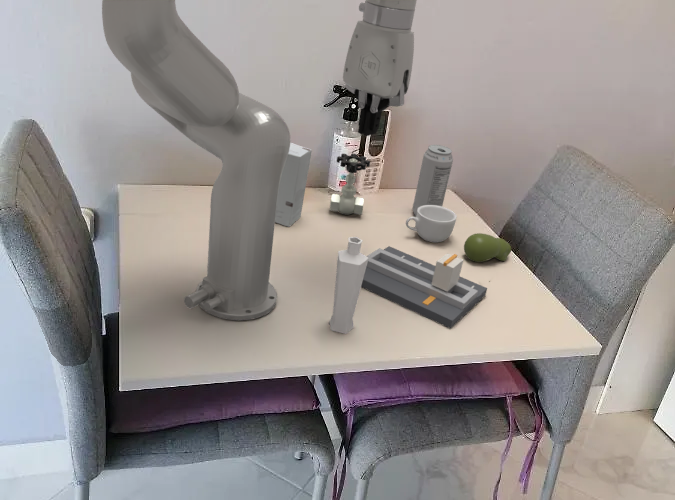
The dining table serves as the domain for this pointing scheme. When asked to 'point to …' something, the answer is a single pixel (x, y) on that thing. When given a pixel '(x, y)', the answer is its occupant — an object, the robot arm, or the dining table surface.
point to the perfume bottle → (347, 285)
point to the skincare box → (292, 185)
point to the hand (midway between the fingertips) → (367, 133)
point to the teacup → (433, 222)
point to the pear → (486, 248)
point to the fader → (447, 272)
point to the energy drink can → (433, 177)
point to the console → (418, 286)
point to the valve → (349, 186)
